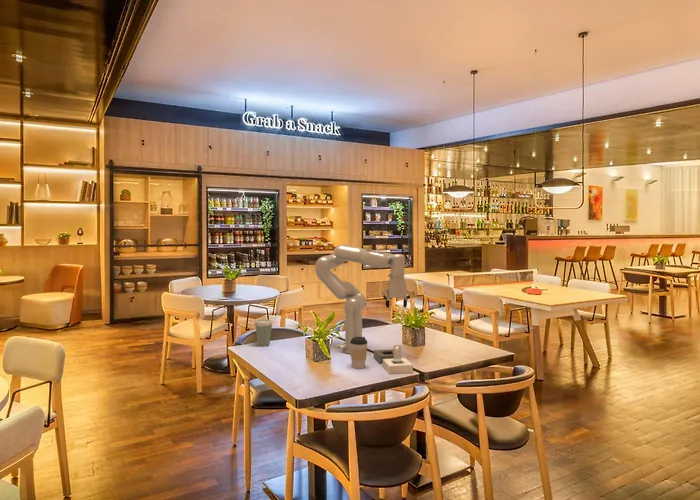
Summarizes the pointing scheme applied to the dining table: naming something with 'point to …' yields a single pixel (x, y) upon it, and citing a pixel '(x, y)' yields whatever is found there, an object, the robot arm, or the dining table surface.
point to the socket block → (397, 366)
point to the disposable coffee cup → (263, 331)
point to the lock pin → (397, 354)
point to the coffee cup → (358, 352)
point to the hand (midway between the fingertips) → (396, 307)
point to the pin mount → (383, 355)
